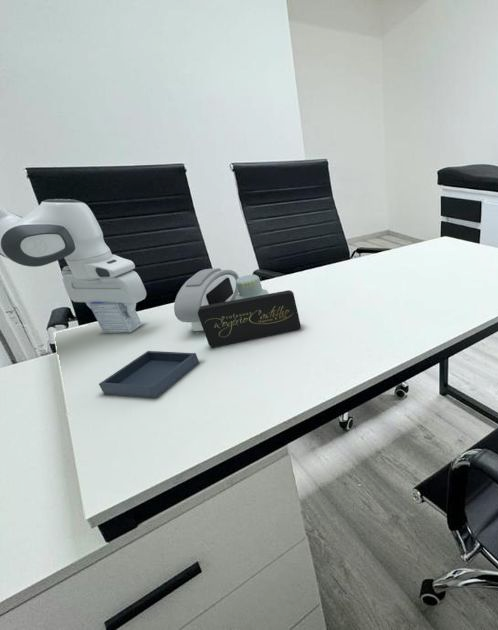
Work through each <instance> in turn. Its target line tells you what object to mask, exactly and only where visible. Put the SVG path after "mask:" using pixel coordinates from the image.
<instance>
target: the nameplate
mask: <svg viewBox="0 0 498 630" xmlns="http://www.w3.org/2000/svg"><path fill="white" fill-rule="evenodd" d="M198 316H199V319H200V322H201V325H202V327H203V330H204V331H203V333H204V335H205V339H206V341H207V345H208V346H209V347H210V348H217V347H222V346H228V345H233V344H237V343H238V344H239V343H241V342H247V341H252V340H256V339H260V338H261V339H262V338H266V337H271V336H275V335H279V334H285V333H289V332H294V331H298V330H301V327H302V325H301V321H300V320H301V319H300V315H299V311H298V307H297V303H296V298H295V294H294V291H292V290H288V289H287V290H283V291H277V292H272V293H269V294H265V295H260V296H254V297H249V298H243V299H238V300H232V301H227V302H221V303H216V304H210V305H205V306H201V307H200V308H199V310H198Z"/></svg>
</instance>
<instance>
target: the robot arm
mask: <svg viewBox="0 0 498 630" xmlns="http://www.w3.org/2000/svg"><path fill="white" fill-rule="evenodd" d="M0 256H2V257H4V258H6V259H8V260H11V261H12V262H13V263H16V264H18V265H21V266H26V267H31V268H32V267H33V268H34V267H43V266H47V265H49V264H52V263H55V262H57V261H60V260H63V259H64V260H65V262H66V264H67V265H66V266H64V267H63V268H62V270H61V275H62V282H63V286H64V288H65V291H66V293H67V296H68V297H69V299H70V300H71V301H73V303H85V304H86V306H87V307H88V308H89V309H90V310H92V309H91V307H90V305H89V304H90V303H92V302H101V303H124V305H125V306H127V311H126V312H125V314H126V316H127V317H128V318H134V317H135V316H137V315H138V313H136V312H137V310H136V309H137V308H136V307H137V303H139V302H142V301H143V300H145V299H147V298H146V297H147V290H146V288H145V285H144V283H143V281H142V279H141V277H140V275H139V274H138V272H136V271H135V270H134V269H136V265H135V263H134V261H132V260H131V259H127V258H124V257H121V256H119V255H116V254H113V253H112V251H111V249H110V247H109V246H108V244H106V242H105V239H104V233H103V230H102V227H101V226H100V224H99V222H98V220H97V218H96V216H95V214H94V212H93V210H91V208H90V207H89V205H87V204H86V203H85V202H83V201H80V200H77V199H69V198H49V199H48V198H47V199H44V200H43V201H41V202H40V204H38V206H37V207H36V208H35V209H33V210H32V211H31V212H29V213H28V214H26V215H24V216H20V215H18V214H16V213H14V212H11V211H10V210H8V209H7V208H5V207H4V206H3V205H1V204H0ZM135 310H136V311H135Z"/></svg>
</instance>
